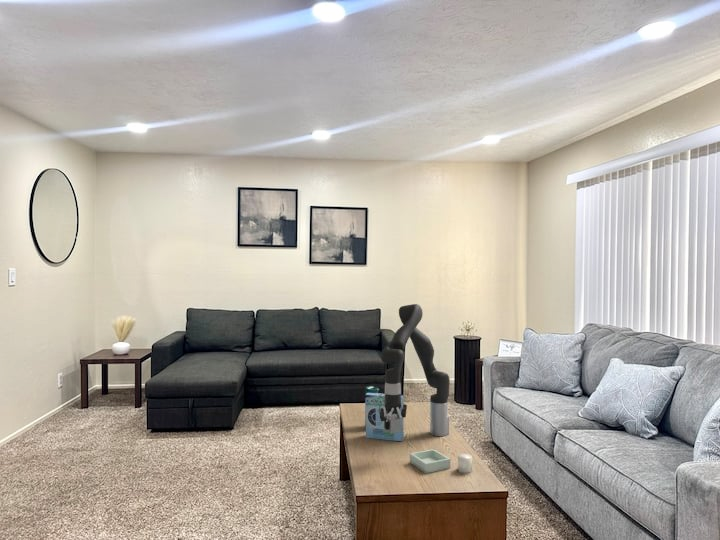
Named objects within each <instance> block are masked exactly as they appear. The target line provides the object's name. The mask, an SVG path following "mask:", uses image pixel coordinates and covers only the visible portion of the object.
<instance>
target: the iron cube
mask: <svg viewBox="0 0 720 540" xmlns="http://www.w3.org/2000/svg"><path fill="white" fill-rule="evenodd" d="M388 422H389V430H386V429H385V428H384V430H386V431H387V432H389V433H390V434H392V433H398V432H402V418H399V417H398V416H396V415H393V416H391V417H390V418H389V420H388Z"/></svg>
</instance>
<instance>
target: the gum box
mask: <svg viewBox="0 0 720 540" xmlns="http://www.w3.org/2000/svg"><path fill="white" fill-rule="evenodd" d="M365 399H366V427H365V438H367V439H378V440H385V441H396V442H402V441H403V440H404V438H405V436H404V435H405V434H404V424H405V423H404V418H402V432H398V433H392V434H390V433H389V432H387V431H386V430H384V421H382V420H381V419H380V414H379V407H384V406H385V393H383V392H382V393H379V392H378V393H370V392H368V393H367V394H366V393H365ZM403 403H404V394H401V404H403ZM401 410H402V408H400V412H401ZM385 412H386V410H385ZM385 412H384V416H385ZM388 414H389V413H388ZM393 415H396V414H393ZM393 415H391V416H393ZM396 416H397V415H396Z"/></svg>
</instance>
